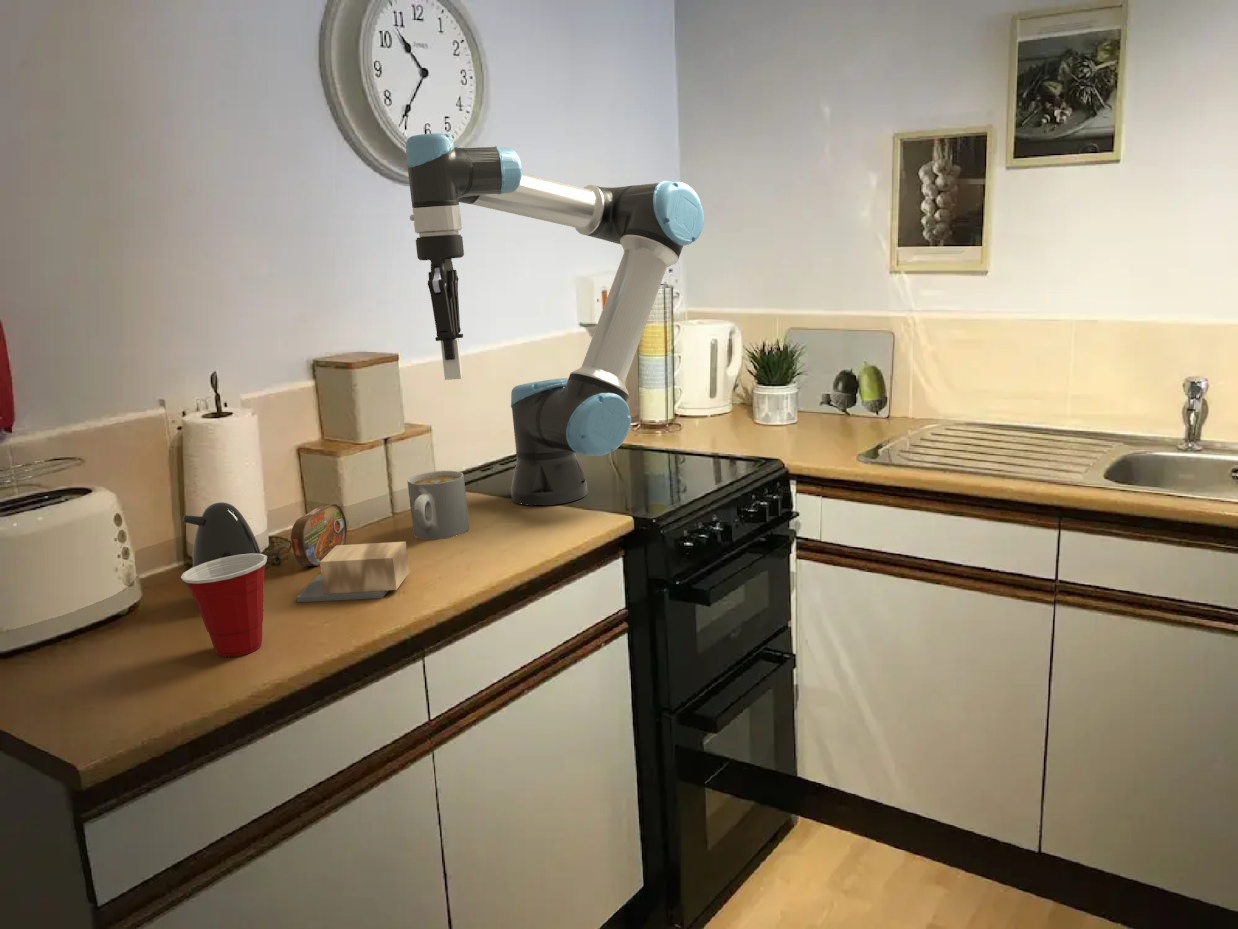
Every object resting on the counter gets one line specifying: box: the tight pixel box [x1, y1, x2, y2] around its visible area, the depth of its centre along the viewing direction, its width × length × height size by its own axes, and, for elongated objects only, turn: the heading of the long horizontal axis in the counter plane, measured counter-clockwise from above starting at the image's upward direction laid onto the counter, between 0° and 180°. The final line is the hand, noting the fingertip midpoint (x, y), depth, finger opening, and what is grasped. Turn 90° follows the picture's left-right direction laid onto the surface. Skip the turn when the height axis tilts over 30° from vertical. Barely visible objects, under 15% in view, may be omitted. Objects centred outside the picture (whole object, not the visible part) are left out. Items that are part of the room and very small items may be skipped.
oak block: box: [319, 541, 410, 594], centre depth 157 cm, size 5×8×11 cm
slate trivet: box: [296, 574, 389, 603], centre depth 158 cm, size 13×10×1 cm
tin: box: [290, 503, 348, 567], centre depth 174 cm, size 15×3×8 cm, turn 168°
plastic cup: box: [180, 553, 268, 658], centre depth 136 cm, size 11×11×12 cm
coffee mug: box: [407, 470, 470, 540], centre depth 183 cm, size 13×10×10 cm
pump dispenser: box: [182, 501, 266, 571], centre depth 156 cm, size 10×10×15 cm
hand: (453, 378), depth 172 cm, fingers closed
